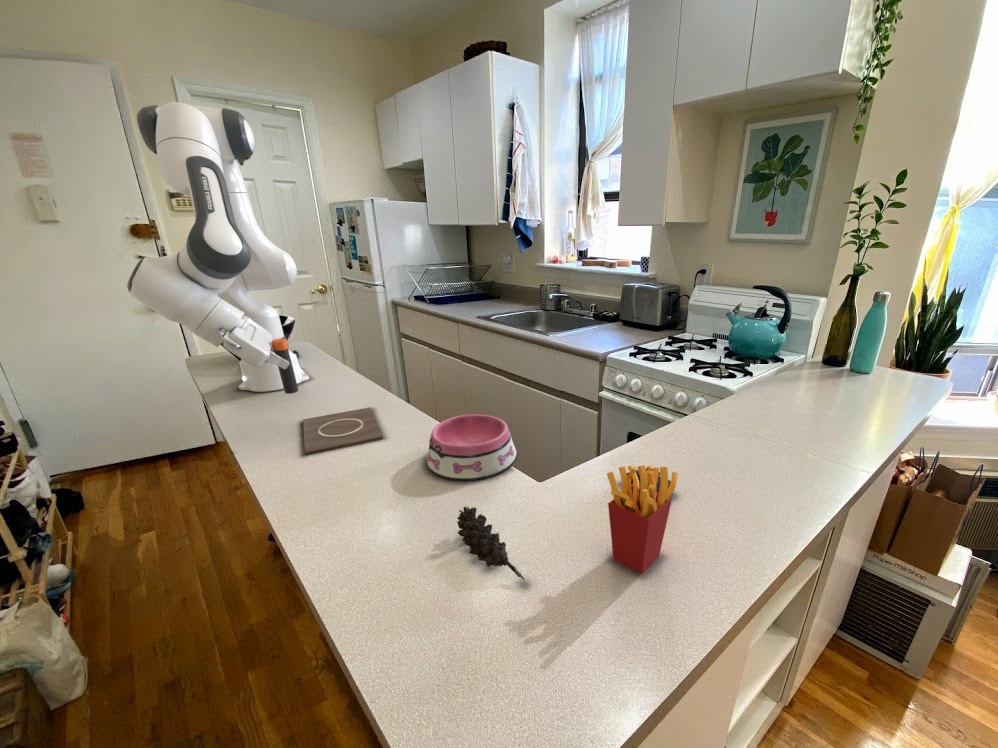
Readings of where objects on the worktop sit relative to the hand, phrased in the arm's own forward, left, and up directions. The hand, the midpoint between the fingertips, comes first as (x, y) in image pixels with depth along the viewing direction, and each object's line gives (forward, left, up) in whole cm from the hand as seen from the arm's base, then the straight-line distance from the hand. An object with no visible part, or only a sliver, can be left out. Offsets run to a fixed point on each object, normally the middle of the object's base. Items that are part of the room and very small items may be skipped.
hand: (287, 363), depth 103 cm
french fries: (+73, +43, -17) cm, 86 cm away
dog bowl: (+33, +31, -17) cm, 48 cm away
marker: (0, -1, -7) cm, 7 cm away
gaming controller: (+61, +55, -17) cm, 83 cm away
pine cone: (+63, +24, -17) cm, 69 cm away
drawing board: (+4, +8, -17) cm, 19 cm away
